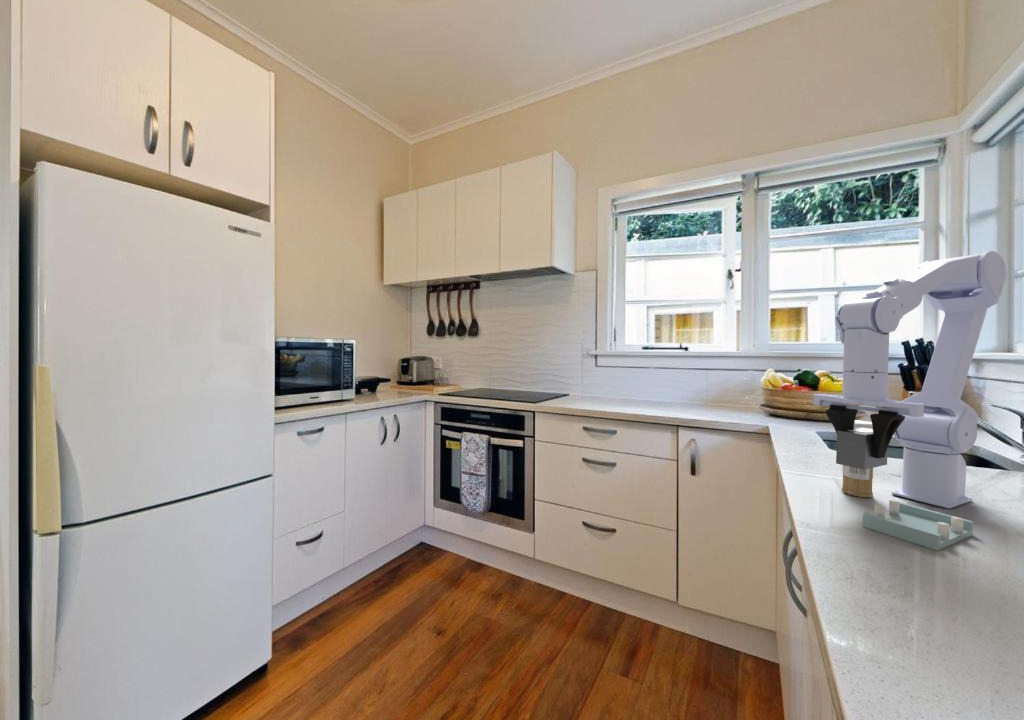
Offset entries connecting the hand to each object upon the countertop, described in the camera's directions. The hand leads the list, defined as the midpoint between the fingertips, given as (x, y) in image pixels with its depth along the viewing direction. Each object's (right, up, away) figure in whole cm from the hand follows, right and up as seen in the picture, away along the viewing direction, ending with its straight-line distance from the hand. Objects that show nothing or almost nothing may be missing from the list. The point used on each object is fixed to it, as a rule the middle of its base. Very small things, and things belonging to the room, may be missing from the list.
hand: (862, 454), depth 71 cm
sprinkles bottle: (+6, -9, +8) cm, 14 cm away
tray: (+2, -10, -8) cm, 12 cm away
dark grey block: (0, -2, 0) cm, 2 cm away
